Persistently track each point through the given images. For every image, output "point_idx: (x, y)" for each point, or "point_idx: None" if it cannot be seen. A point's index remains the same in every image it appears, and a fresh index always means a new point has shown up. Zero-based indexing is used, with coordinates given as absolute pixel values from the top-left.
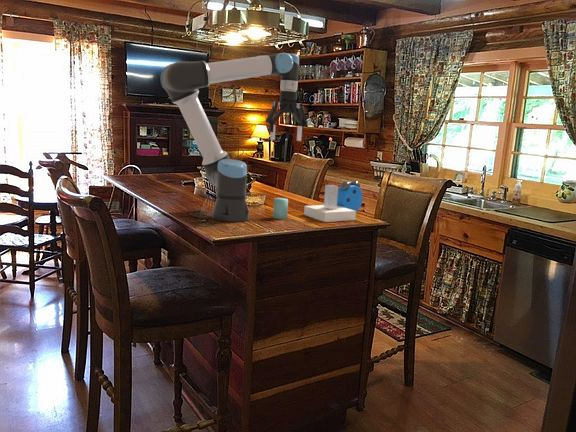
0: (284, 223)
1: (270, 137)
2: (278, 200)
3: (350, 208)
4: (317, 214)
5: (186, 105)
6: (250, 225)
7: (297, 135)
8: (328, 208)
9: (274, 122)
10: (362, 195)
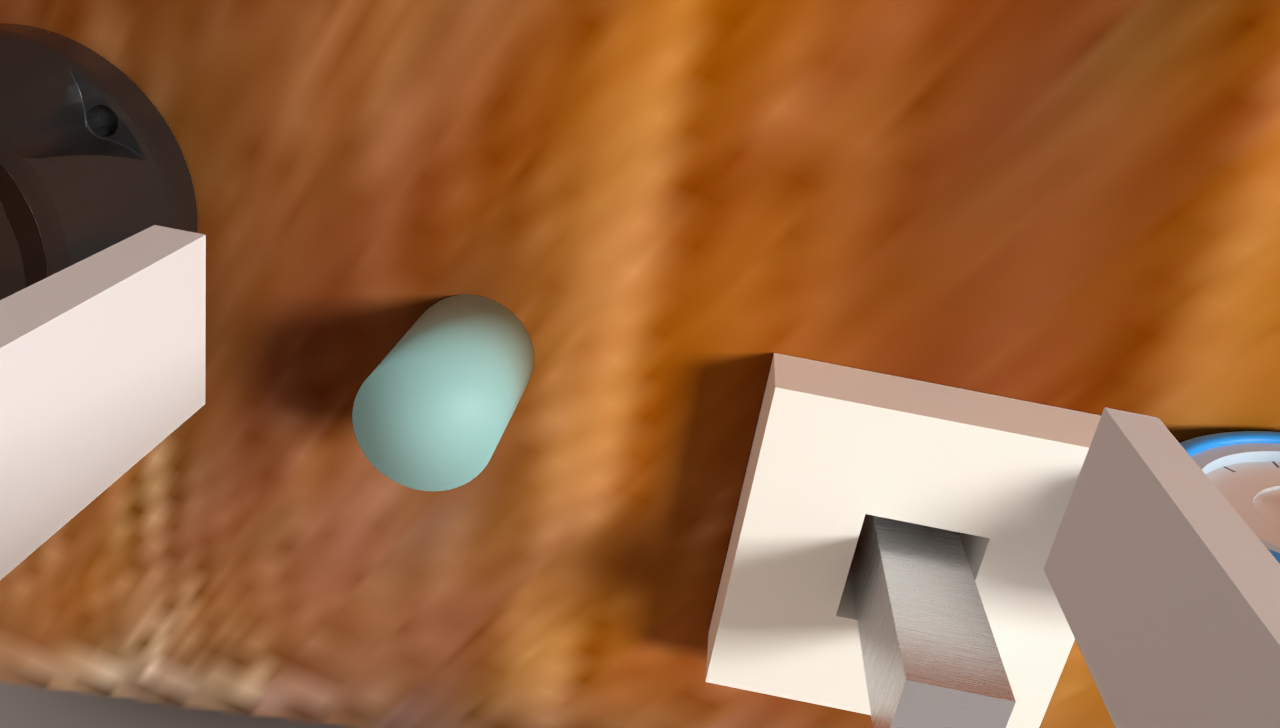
0: (376, 525)
1: (116, 251)
2: (367, 454)
3: None
4: (728, 563)
5: None
6: None
7: (1149, 518)
8: (858, 603)
9: None
10: None
